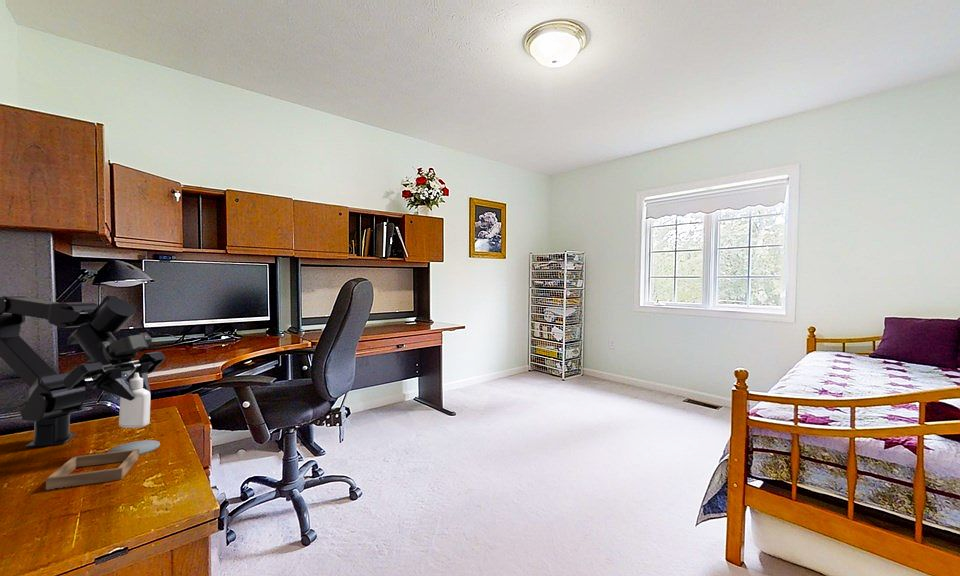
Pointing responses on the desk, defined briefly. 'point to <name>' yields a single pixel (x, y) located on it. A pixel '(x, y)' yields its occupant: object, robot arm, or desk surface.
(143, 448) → the rubber coaster
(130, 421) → the eye dropper bottle
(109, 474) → the walnut collar
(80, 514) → the desk surface
